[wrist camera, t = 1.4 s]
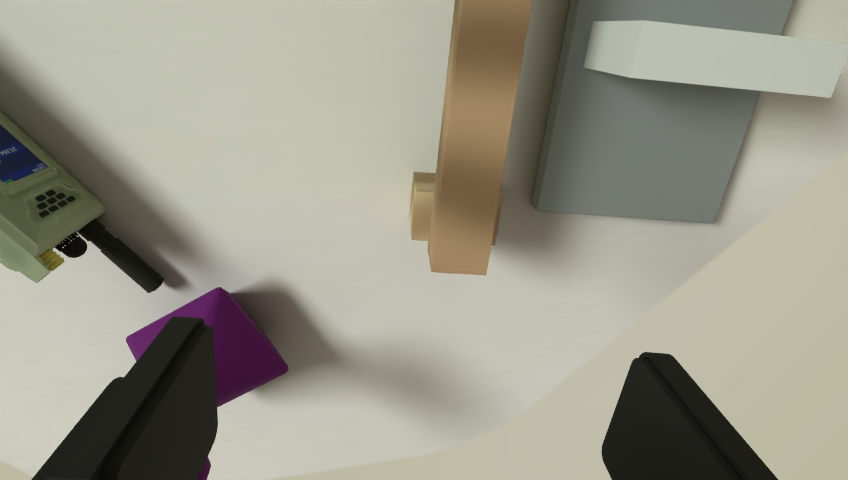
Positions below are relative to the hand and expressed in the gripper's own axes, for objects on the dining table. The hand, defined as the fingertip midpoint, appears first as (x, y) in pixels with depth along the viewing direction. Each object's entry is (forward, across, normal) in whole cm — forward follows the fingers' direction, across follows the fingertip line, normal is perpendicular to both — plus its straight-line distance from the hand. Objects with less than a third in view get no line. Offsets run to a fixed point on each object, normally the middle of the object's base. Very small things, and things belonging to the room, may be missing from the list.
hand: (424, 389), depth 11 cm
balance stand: (+22, -14, -8) cm, 27 cm away
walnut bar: (+18, -3, -8) cm, 19 cm away
